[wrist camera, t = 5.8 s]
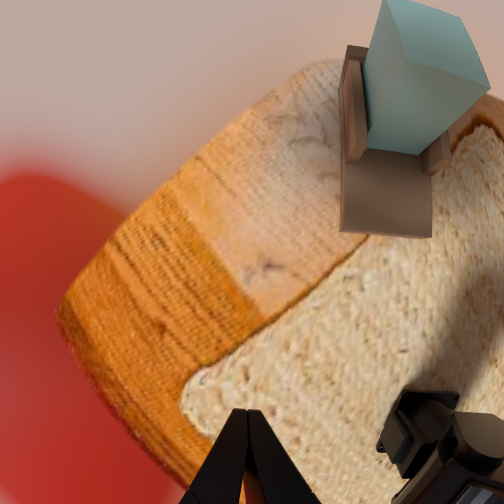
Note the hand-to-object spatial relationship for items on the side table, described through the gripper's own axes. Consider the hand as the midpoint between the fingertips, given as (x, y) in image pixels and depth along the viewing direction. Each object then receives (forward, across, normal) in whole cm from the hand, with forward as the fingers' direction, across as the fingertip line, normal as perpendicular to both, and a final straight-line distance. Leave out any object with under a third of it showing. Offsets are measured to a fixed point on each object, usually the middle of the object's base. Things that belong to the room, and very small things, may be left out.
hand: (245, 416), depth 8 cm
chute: (+15, -9, -9) cm, 20 cm away
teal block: (+14, -9, -12) cm, 20 cm away
